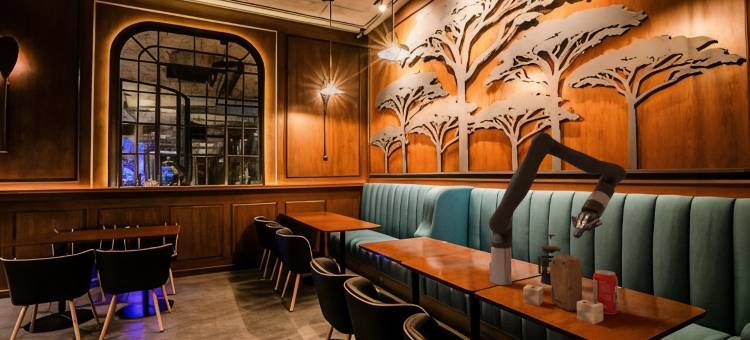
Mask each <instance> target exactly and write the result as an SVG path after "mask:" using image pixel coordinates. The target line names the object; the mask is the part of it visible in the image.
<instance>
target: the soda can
mask: <svg viewBox="0 0 750 340" xmlns="http://www.w3.org/2000/svg"><path fill="white" fill-rule="evenodd" d="M618 282H619V281H618V277H617V275H616V272H614V271H612V270H605V269H597V270H594V273H593V275H592V296H593V297H592V299H593V300H592V301H595V302H598V303H602V304H603V315H608V316H609V315H610V316H611V315H615V314H618V312H619V293H618V291H619V289H618V288H619V287H618V285H619V284H618Z"/></svg>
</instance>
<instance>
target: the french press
mask: <svg viewBox="0 0 750 340" xmlns="http://www.w3.org/2000/svg"><path fill="white" fill-rule="evenodd" d="M545 236H546V237H549V241H550V242H549V243H550V245H541V246H540V248H541V252H542V253H544V254H555V252H558V253H561V250H562V247H560V246H557V245H556V246H555V245H552V239H553V237H556V235H555V234H553V233H552V234H550V233H549V234H545ZM555 256H556V255H538V256H537V263H538V265H537V268H538V269H537V271H538V273H537V274H538V275H540V282H541V284H544V285H547V286H552V285H551V279H550V266H548V263H551V261H552V259H553V258H554V257H555Z"/></svg>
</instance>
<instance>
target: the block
mask: <svg viewBox="0 0 750 340" xmlns="http://www.w3.org/2000/svg"><path fill="white" fill-rule="evenodd" d="M554 256H555V257H554V258H553V259H552V258H551V260H552V261H551V262H550V265H549V267H550V272H549V273H550V279H551V285H550V286H551V289H550V290H551V291H550V294H551V302H552V304H554V305H555V306H556V307H558V308H560V309H561V310H565V311H568V312H570V311H572V312H575V311H576V312H577V302H578V301H581V300H583V274H582V263H581V259H580V258H579V257H576V256H573V255H571V254H565V253H564V254H558V255H554Z"/></svg>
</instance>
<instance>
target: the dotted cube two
mask: <svg viewBox="0 0 750 340" xmlns="http://www.w3.org/2000/svg"><path fill="white" fill-rule="evenodd" d="M576 319H577V320H580V321H582V322H583V321H584V322H586V323H589V324H592V325H595V324H598V323H600V322H602V321H604V314H603V304H602V303H598V302H595V301H593V300H590V299H587V298H584V299H582V300H581V301H578V302H577V310H576Z"/></svg>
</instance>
